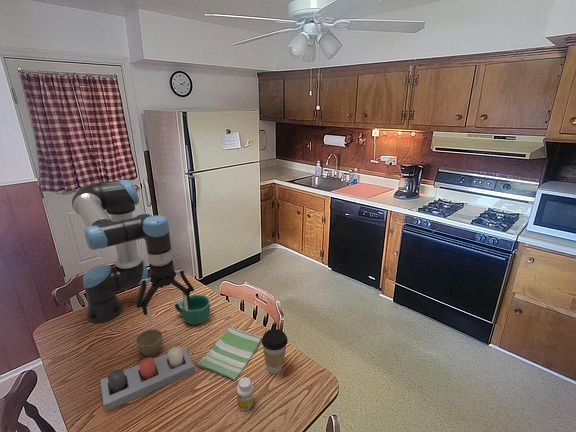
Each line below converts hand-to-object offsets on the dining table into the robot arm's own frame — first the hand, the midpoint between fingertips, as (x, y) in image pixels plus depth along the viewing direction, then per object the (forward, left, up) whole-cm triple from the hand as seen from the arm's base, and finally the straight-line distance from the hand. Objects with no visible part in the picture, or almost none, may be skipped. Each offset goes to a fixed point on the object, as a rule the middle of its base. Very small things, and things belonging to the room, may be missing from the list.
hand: (168, 314), depth 112 cm
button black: (0, -19, -23) cm, 30 cm away
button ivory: (0, 0, -23) cm, 23 cm away
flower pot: (-14, -6, -25) cm, 29 cm away
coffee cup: (+20, +32, -25) cm, 46 cm away
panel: (0, -10, -25) cm, 27 cm away
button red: (0, -9, -23) cm, 25 cm away
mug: (-25, +15, -25) cm, 39 cm away
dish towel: (+4, +21, -26) cm, 34 cm away
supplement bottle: (+28, +16, -25) cm, 41 cm away
